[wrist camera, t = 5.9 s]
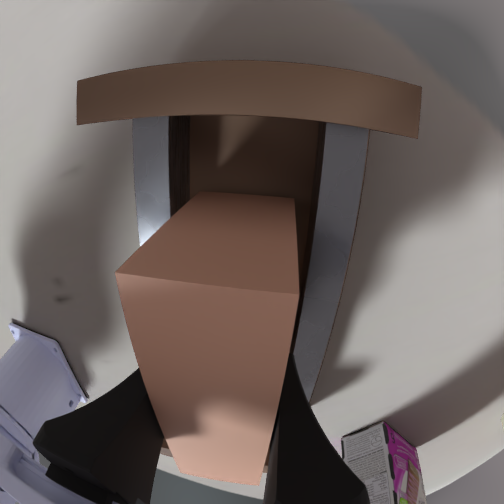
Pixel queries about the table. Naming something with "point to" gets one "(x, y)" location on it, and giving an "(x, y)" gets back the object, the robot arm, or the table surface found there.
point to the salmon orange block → (215, 327)
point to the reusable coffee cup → (502, 421)
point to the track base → (260, 157)
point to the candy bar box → (385, 465)
